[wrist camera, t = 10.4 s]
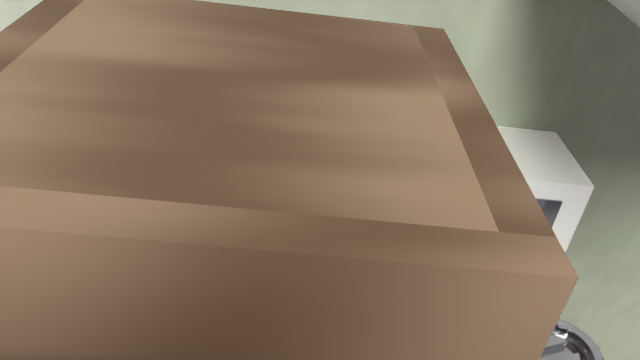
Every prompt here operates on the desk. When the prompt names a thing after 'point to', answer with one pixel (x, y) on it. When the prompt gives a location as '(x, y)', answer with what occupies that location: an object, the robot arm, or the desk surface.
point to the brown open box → (259, 192)
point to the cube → (551, 177)
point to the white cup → (628, 9)
